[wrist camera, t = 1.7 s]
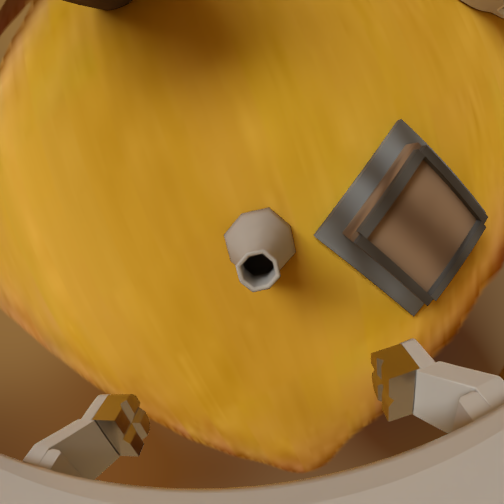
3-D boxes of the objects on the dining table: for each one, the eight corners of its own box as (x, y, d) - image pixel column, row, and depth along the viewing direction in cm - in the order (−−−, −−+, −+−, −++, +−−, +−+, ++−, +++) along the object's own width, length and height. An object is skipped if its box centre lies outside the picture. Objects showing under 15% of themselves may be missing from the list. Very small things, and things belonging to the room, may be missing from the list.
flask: (271, 195, 31) (275, 202, 21) (307, 254, 32) (324, 286, 23) (212, 231, 32) (190, 255, 23) (249, 287, 34) (242, 331, 24)
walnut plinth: (397, 120, 28) (417, 112, 24) (481, 211, 30) (505, 217, 25) (313, 235, 32) (322, 245, 27) (410, 313, 34) (428, 331, 29)
